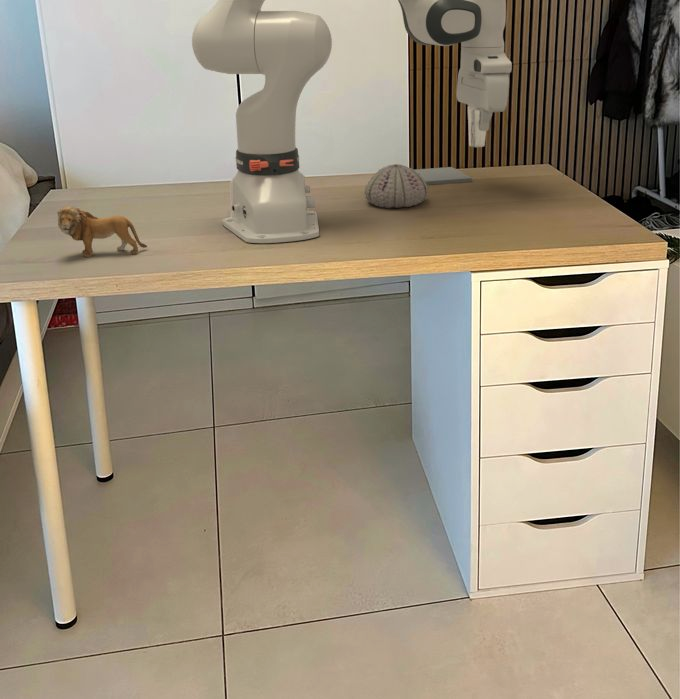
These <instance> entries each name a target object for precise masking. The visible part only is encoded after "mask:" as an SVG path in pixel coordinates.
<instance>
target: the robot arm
mask: <svg viewBox="0 0 680 699" xmlns="http://www.w3.org/2000/svg"><path fill="white" fill-rule="evenodd" d="M265 1H266V0H217V2H216V3H215V4H214V6H213V7H212V8H210V10H209V11H207V13H205V14H204V15H203V16H201V17H200V18H199V19H198V21H197V23H196V25H195V26H194V28H193V32H192V36H191V46H192V50H193V53H194V56H195V59H196V60H197V62H198V63H199V64H200V66H201V67H202V68H203V69H205V70H207V71H211V72H216V73H222V74H227V75H263V76H264V78H265V80H264V81H265V82H264V85H263V88H262V89H261V90H258V91H257V92H255V93H253V94H252V95H249V96H248V97H246V98H245V99H243V100H242V101H241V102H240V104H238V106H237V109H236V112H235V124H236V138H237V141H236V142H237V149H236V150H235V163H236V165H235V166H236V169H237V172H236V175H235V176H234V177H233V178H232V179H231V180H230V182H229V195H230V196H229V198H230V200H229V201H230V203H229V204H230V216H229V217H227V216H226V217H225V218H223V219H222V225H223V226H224V227H225V228H226V229H228V230H229V231H230V232H231V233H232V234H235V235H236V236H237V237H239V238H240V239H241V240H242V241H243V242H246V243H252V244H273V243H274V244H275V243H276V244H277V243H287V242H288V243H289V242H296V241H297V242H298V241H304V240H309V239H310V240H311V239H314V238H317V237H319V236H320V228H319V219H318V214H317V213H318V212H316V211H313V210H308V209H314V208H315V206H316V202H315V201H316V200H315V196H314V195H306V194H310V193H311V187H310V185H306V176H305V175H304V174H303V173H302V172H301V171H300V170H299V169H300V155H299V150H298V148H297V146H296V119H297V118H296V117H297V116H296V115H297V106H298V102H299V100H300V97H301V94H302V92H303V90H304V87H305V86H307V83H308V82H309V81H310V79H311V78H312V77H314V75H315V74H317V72H319V71H320V70H321V69H323V67H324V66H325V65H326V64H327V62H328V60H329V59H330V55H331V52H332V48H333V47H332V46H333V39H332V34H331V30H330V28H329V26H328V24H327V23H326V21H325V20H324V19H323V17H322V16H321V15H318V14H314V13H308V12H304V11H299V10H262V6H263V4H264V3H265ZM397 1H398V4H399V6H400V9H401V13H402V19H403V25H404V28H405V31H406V33H407V35H408V36H409V38H410V39H411V40H412V41H414V42H415V43H417V44H418V45H422V46H433V45H434V46H442V47H447V46H448V47H449V46H453V45H456V44H460V46H461V47H460V49H461V50H460V68H459V70H458V75H457V83H456V84H457V85H456V100H457V102H459V103H462V104H465V105H467V107H468V106H469V105H470V104H473V105H474V106H475V107H476V108H479V109H481V114H482V115H481V121H480V122H479V130H481V131H486V132H487V131H489V130H490V122H491V119H492V117H493V113H501V112H504V111H505V110H506V108H507V106H508V99H509V92H510V91H509V88H510V77H509V74H510V73H512V67H513V65H512V64H513V62H512V61H511V60H510V59H509V57H507V55H506V52H505V41H504V30H505V27H506V20H507V14H506V13H507V2H506V1H507V0H397Z"/></svg>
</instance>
